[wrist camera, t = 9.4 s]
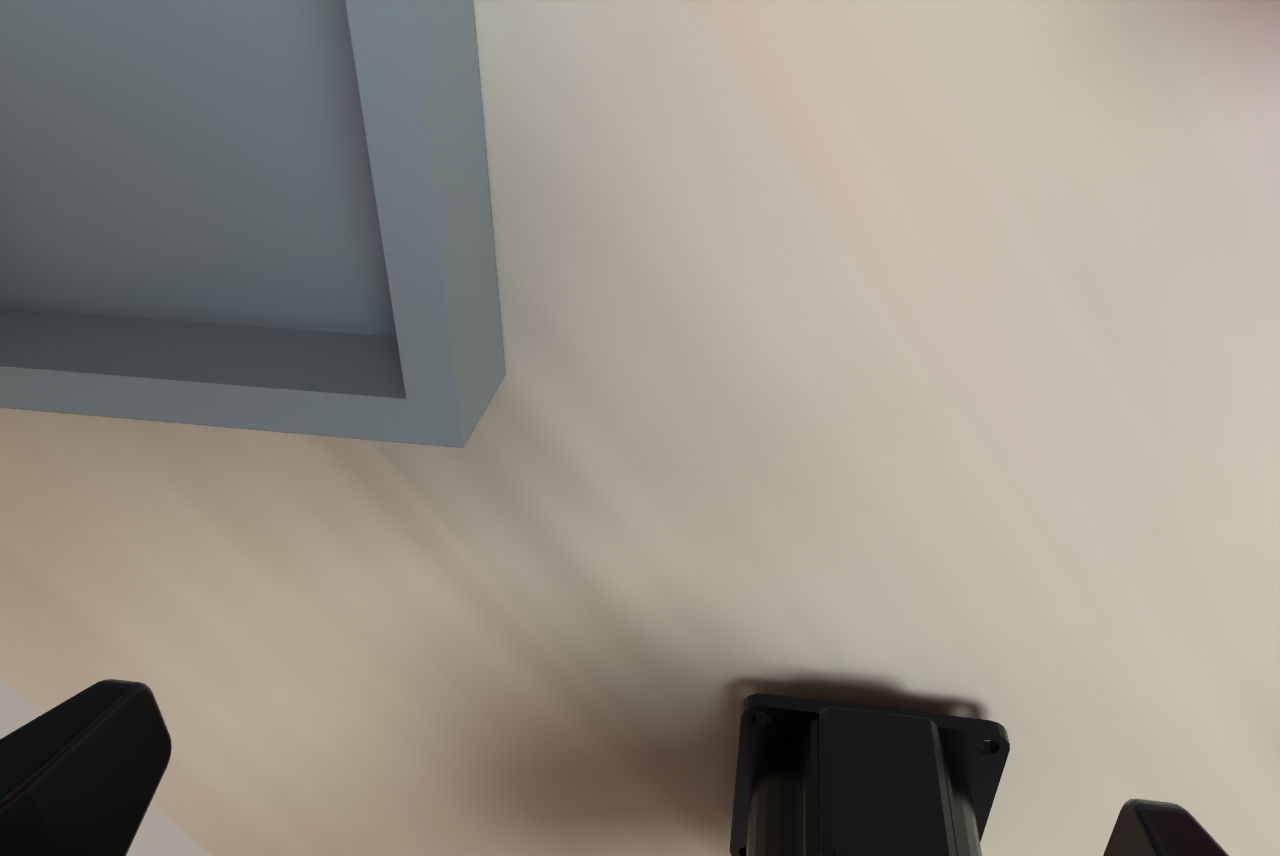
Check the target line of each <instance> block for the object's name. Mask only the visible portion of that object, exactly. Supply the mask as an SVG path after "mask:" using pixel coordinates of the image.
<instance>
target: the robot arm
mask: <svg viewBox="0 0 1280 856" xmlns="http://www.w3.org/2000/svg"><path fill="white" fill-rule="evenodd" d="M758 713H764V714H758ZM986 740H991V741H986ZM171 747H172V746H171V738H170V735H169V732H168V730H167V727H166V725H165V722H164V720H163V717H162V715H161V712H160V710H159V707H158V705H157V702H156V700H155V697H154V695H153V693H152V691H151V689H150V688H149V687H148V686H147V685H145V684H143V683H140V682H132V681H124V680H115V679H109V680H103V681H100V682H98V683H96V684H94V685H92V686H90V687H89V688H87V689H85V690H83V691H82V692H80V693H78V694H77V695H75V696H73V697H71V698H70V699H68V700H66V701H65V702H63V703H61V704H60V705H58V706H56V707H54V708H53V709H51V710H49V711H48V712H46V713H44V714H43V715H41V716H39V717H37V718H36V719H34V720H32V721H31V722H29V723H27V724H26V725H24V726H22V727H20V728H19V729H17V730H15V731H14V732H12V733H10V734H9V735H7V736H5V737H4V738H2V739H0V856H126V854H127V852H128V850H129V848H130V846H131V844H132V841H133V839H134V837H135V835H136V833H137V830H138V828H139V826H140V824H141V822H142V820H143V818H144V815H145V813H146V811H147V809H148V807H149V805H150V802H151V800H152V798H153V796H154V794H155V792H156V789H157V787H158V785H159V783H160V781H161V779H162V776H163V774H164V772H165V770H166V768H167V765H168V762H169V759H170V755H171ZM1009 750H1010V744H1009V740H1008V735H1007V731H1006V730H1005V728H1004V726H1002V725H1001V724H999V723H997V722H993V721H989V720H981V719H972V718H964V717H956V716H947V715H939V714H930V713H922V712H913V711H905V710H896V709H888V708H879V707H871V706H862V705H854V704H845V703H837V702H828V701H820V700H811V699H803V698H794V697H786V696H777V695H769V694H754V695H751V696H748V697H747V698H746V699H745V700H744V702H743V704H742V713H741V725H740V736H739V748H738V760H737V771H736V783H735V795H734V806H733V818H732V830H731V842H730V853H731V855H732V856H982V853H981V847H980V841H981V838H982V835H983V832H984V829H985V826H986V823H987V819H988V816H989V813H990V810H991V807H992V804H993V801H994V797H995V794H996V791H997V788H998V785H999V782H1000V779H1001V775H1002V772H1003V769H1004V766H1005V763H1006V760H1007V757H1008V753H1009ZM1103 856H1229V855H1228V854H1227V853H1226V852H1225V851H1224V850H1223V849H1222V847H1221V846H1220V845H1219V844H1218V843H1217V842H1216V841H1215V840H1214V839H1213V838H1212V837H1211V835H1210V834H1209V833H1208V832H1207V831H1206V830H1205V829H1204V828H1203V827H1202V826H1201V825H1200V824H1199V822H1198V821H1197V820H1196V819H1195V818H1194V817H1193V816H1192V815H1191V814H1190V813H1189V812H1188V811H1187V810H1185V809H1184V808H1182V807H1181V806H1179V805H1177V804H1173V803H1168V802H1159V801H1151V800H1142V799H1130V800H1129V801H1127V802H1126V803H1125V804H1124V805H1123V807H1122V809H1121V811H1120V813H1119V816H1118V819H1117V821H1116V824H1115V826H1114V829H1113V832H1112V834H1111V837H1110V839H1109V842H1108V845H1107V847H1106V850H1105V852H1104V855H1103Z"/></svg>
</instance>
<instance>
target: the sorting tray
mask: <svg viewBox="0 0 1280 856" xmlns="http://www.w3.org/2000/svg"><path fill="white" fill-rule="evenodd" d="M504 376H505V362H504V351H503V339H502V327H501V316H500V304H499V293H498V281H497V269H496V258H495V246H494V235H493V223H492V211H491V200H490V188H489V177H488V165H487V153H486V142H485V130H484V119H483V107H482V95H481V84H480V72H479V61H478V49H477V37H476V26H475V14H474V3H473V0H0V408H11V409H23V410H34V411H46V412H57V413H69V414H80V415H91V416H103V417H114V418H126V419H137V420H149V421H160V422H172V423H183V424H194V425H206V426H217V427H229V428H240V429H252V430H263V431H275V432H286V433H297V434H309V435H320V436H332V437H343V438H355V439H366V440H378V441H389V442H400V443H412V444H423V445H435V446H446V447H458V448H463V447H464V445H465V443H466V442H467V440H468V438H469V436H470V435H471V433H472V431H473V430H474V428H475V426H476V424H477V423H478V421H479V419H480V417H481V416H482V414H483V412H484V411H485V409H486V407H487V405H488V404H489V402H490V400H491V398H492V397H493V395H494V393H495V392H496V390H497V388H498V386H499V385H500V383H501V381H502V380H503V378H504Z"/></svg>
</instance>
